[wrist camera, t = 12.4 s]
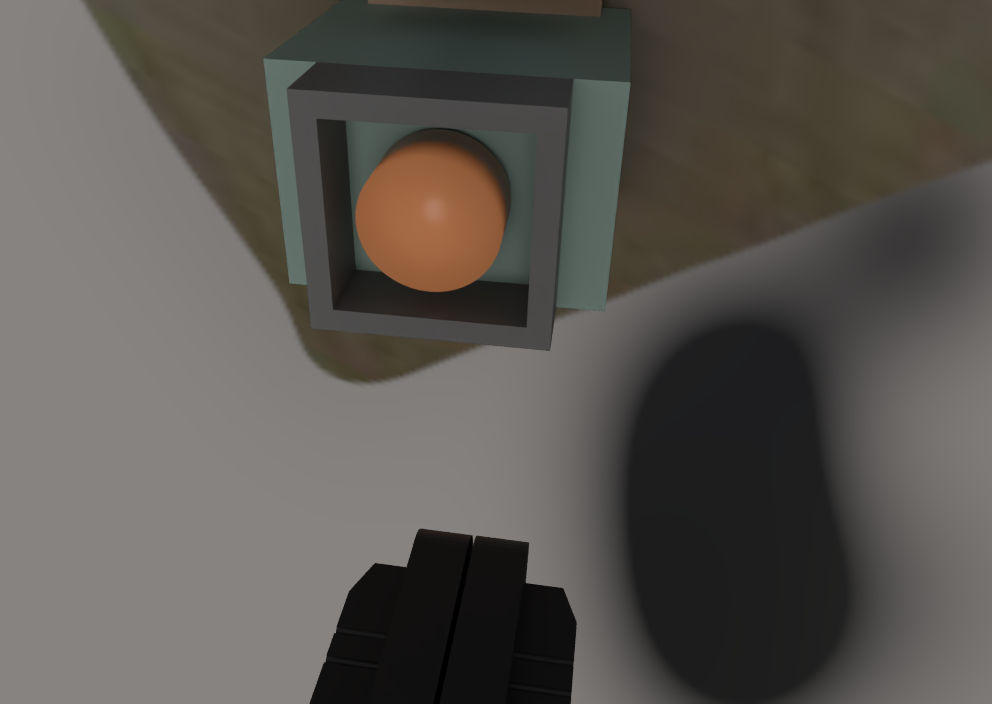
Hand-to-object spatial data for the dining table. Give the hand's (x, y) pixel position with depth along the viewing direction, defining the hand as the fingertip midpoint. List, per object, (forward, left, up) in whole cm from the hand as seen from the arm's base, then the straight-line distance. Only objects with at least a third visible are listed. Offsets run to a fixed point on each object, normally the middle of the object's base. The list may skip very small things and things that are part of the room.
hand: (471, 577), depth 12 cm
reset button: (+1, -3, -15) cm, 15 cm away
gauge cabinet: (+1, -3, -24) cm, 24 cm away
